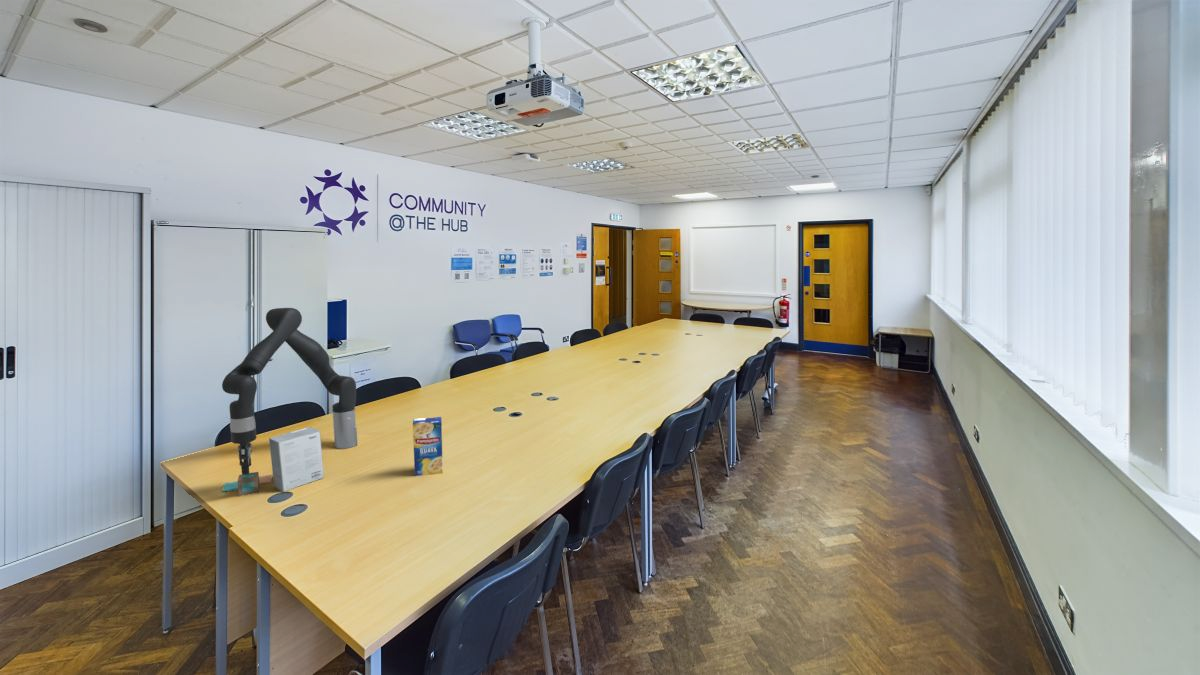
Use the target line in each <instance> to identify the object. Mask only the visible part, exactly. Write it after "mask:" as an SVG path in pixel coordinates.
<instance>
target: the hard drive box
mask: <svg viewBox="0 0 1200 675" xmlns="http://www.w3.org/2000/svg"><path fill="white" fill-rule="evenodd" d="M321 439H322V438H321V431H320V430H319V429H317V428H314V427H312V426H309V427H305V428H302V429H297V430H293V431H290V432H286V433H284V434H283V433H282V434H279V435H275V436H272V437H269V438H268V440H269V441H268V442H269V451H270V460H271V468H272V469H271V470H272V477H273V485H274V488H275V489H277V490H278V491H281V492H287V491H289V490H293V489H296V488H298V487H300V486H303V485H306V484H307V485H308V484H310V483H313V482H315V481H318V480H320V479H321V480H322V479H324V477H325V474H324V463H323V462H324V461H323V450H322V442H321V441H322V440H321Z"/></svg>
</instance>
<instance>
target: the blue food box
mask: <svg viewBox="0 0 1200 675" xmlns="http://www.w3.org/2000/svg"><path fill="white" fill-rule="evenodd" d="M442 423H443V422H442V416H436V417H435V416H434V417H420V418H413V420H412V438H413V442H412V443H413V461H414V462H413V463H414V477H418V476H419V477H420V476H428V475H436V474H437V475H439V474H444V472H443V471H444V469H443V468H444V463H443V462H444V460H443V433H442V430H443V428H442V426H443V424H442Z"/></svg>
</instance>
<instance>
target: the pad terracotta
mask: <svg viewBox="0 0 1200 675" xmlns="http://www.w3.org/2000/svg"><path fill="white" fill-rule="evenodd" d="M271 483H272V474H266V475H262V476H260V475H259V484H261V485H265V484H271Z"/></svg>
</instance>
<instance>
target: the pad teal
mask: <svg viewBox="0 0 1200 675" xmlns="http://www.w3.org/2000/svg"><path fill="white" fill-rule="evenodd" d="M237 489H238V480H237V481H232V482H226V483H224V485H223V488H222V489H221V490H222V491H221V492H222V493H226V492H225V491H228V492H233V491H238V490H237ZM232 490H233V491H232Z"/></svg>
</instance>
